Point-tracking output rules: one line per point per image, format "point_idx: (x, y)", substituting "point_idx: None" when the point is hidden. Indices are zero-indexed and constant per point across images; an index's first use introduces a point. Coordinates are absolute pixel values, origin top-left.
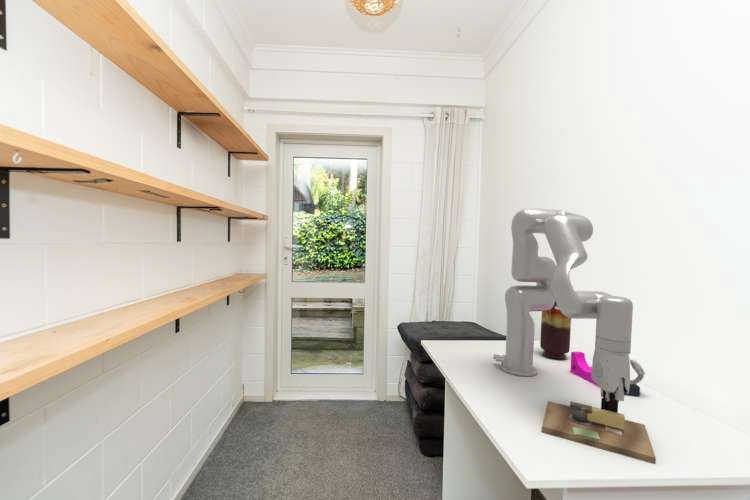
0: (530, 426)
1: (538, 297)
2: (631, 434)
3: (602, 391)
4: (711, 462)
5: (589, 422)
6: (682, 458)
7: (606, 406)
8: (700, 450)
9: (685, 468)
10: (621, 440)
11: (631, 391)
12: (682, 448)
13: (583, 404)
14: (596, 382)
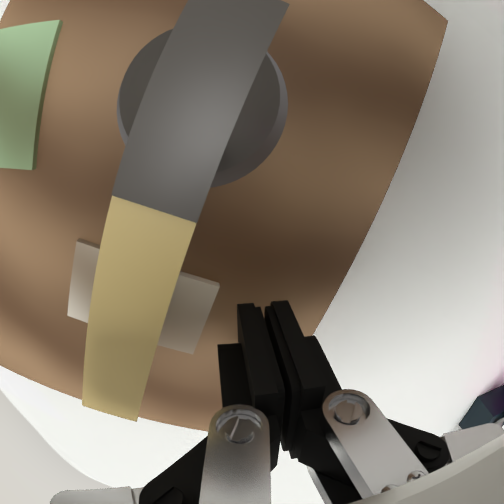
0: None
1: None
2: None
3: (354, 445)
4: (113, 466)
5: None
6: (91, 428)
7: (247, 365)
8: None
9: (35, 404)
10: (16, 283)
11: (475, 420)
12: (161, 453)
13: (225, 130)
14: (443, 498)
